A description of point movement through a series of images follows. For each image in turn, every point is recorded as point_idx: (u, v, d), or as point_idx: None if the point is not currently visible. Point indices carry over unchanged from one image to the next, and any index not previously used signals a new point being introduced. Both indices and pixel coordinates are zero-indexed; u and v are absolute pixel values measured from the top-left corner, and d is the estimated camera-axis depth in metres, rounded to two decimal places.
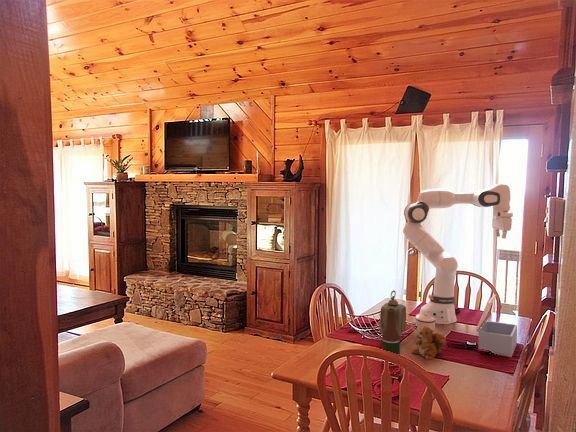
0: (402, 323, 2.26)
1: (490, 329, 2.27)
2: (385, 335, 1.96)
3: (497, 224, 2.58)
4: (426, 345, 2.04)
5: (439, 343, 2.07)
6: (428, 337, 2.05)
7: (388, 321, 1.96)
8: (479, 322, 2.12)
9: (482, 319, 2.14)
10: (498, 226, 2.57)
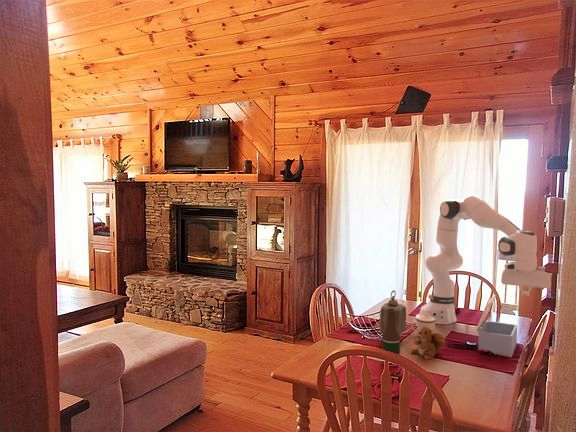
0: (402, 323, 2.26)
1: (490, 329, 2.27)
2: (385, 335, 1.96)
3: None
4: (425, 345, 2.04)
5: (438, 343, 2.07)
6: (427, 337, 2.05)
7: (388, 321, 1.96)
8: (479, 322, 2.12)
9: (482, 319, 2.14)
10: None
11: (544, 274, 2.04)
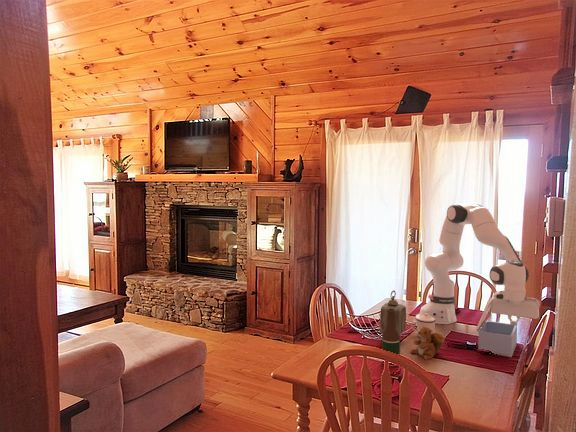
0: (402, 323, 2.26)
1: (490, 329, 2.27)
2: (385, 335, 1.96)
3: None
4: (425, 345, 2.04)
5: (438, 343, 2.07)
6: (427, 337, 2.05)
7: (388, 321, 1.96)
8: (479, 322, 2.12)
9: (482, 319, 2.14)
10: None
11: (532, 305, 2.07)
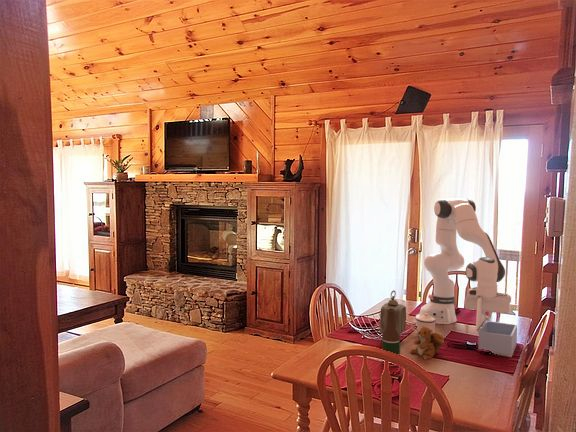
0: (402, 323, 2.26)
1: (490, 329, 2.27)
2: (385, 335, 1.96)
3: None
4: (424, 345, 2.04)
5: (437, 343, 2.07)
6: (426, 337, 2.05)
7: (388, 321, 1.96)
8: (476, 321, 2.13)
9: (479, 318, 2.15)
10: None
11: (504, 300, 2.13)
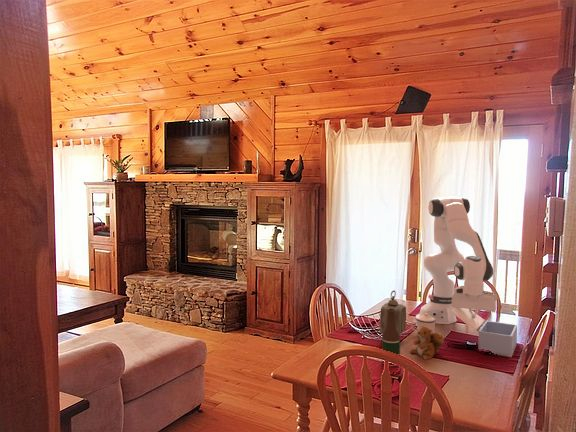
0: (402, 323, 2.26)
1: (490, 329, 2.27)
2: (385, 335, 1.96)
3: None
4: (424, 345, 2.04)
5: (437, 343, 2.07)
6: (426, 337, 2.05)
7: (388, 321, 1.96)
8: (469, 325, 2.15)
9: (469, 321, 2.17)
10: None
11: (490, 298, 2.16)
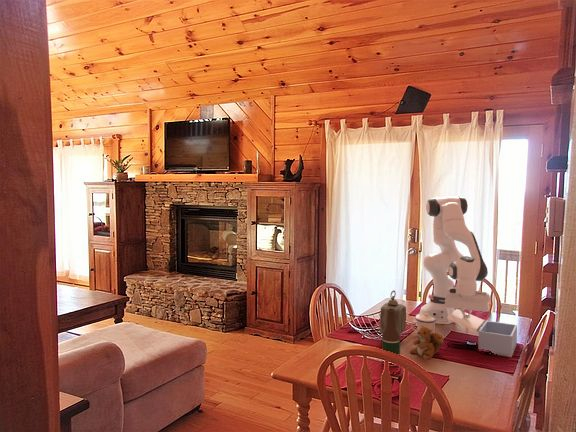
0: (402, 323, 2.26)
1: (490, 329, 2.27)
2: (385, 335, 1.96)
3: None
4: (424, 345, 2.04)
5: (437, 343, 2.07)
6: (426, 337, 2.05)
7: (388, 321, 1.96)
8: (468, 327, 2.15)
9: (468, 324, 2.18)
10: None
11: (482, 299, 2.18)
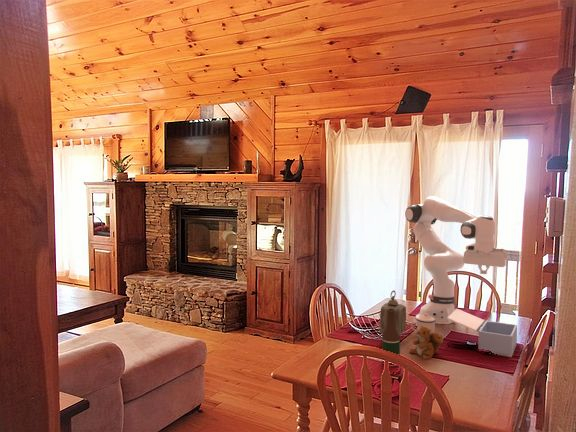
0: (402, 323, 2.26)
1: (490, 329, 2.27)
2: (385, 335, 1.96)
3: None
4: (423, 345, 2.04)
5: (436, 343, 2.07)
6: (425, 337, 2.05)
7: (388, 321, 1.96)
8: (468, 327, 2.15)
9: (468, 324, 2.18)
10: None
11: (499, 255, 2.28)
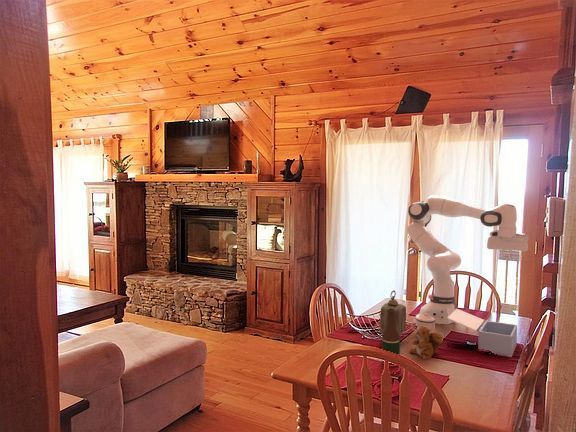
0: (402, 323, 2.26)
1: (490, 329, 2.27)
2: (385, 335, 1.96)
3: None
4: (423, 345, 2.04)
5: (436, 343, 2.07)
6: (425, 337, 2.05)
7: (388, 321, 1.96)
8: (468, 327, 2.15)
9: (468, 324, 2.18)
10: None
11: (522, 239, 2.46)
